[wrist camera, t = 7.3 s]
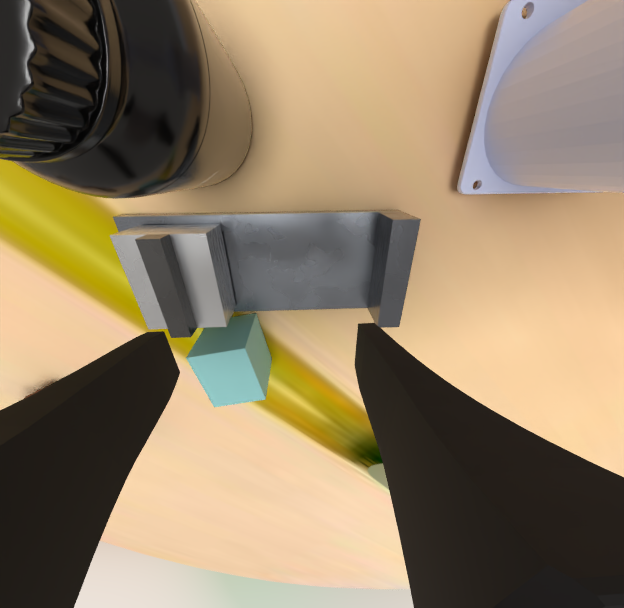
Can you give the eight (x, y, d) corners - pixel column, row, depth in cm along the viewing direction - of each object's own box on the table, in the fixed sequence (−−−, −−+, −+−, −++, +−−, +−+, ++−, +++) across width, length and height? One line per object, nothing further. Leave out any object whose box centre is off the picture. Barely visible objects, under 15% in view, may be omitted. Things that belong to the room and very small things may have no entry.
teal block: (256, 312, 20) (244, 348, 16) (271, 358, 22) (265, 399, 18) (208, 320, 20) (186, 358, 16) (229, 365, 22) (214, 407, 18)
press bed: (397, 209, 16) (420, 219, 13) (383, 302, 19) (399, 326, 16) (121, 214, 15) (77, 225, 12) (156, 308, 19) (129, 335, 16)
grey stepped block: (220, 223, 15) (198, 237, 12) (236, 307, 18) (222, 336, 15) (138, 225, 15) (95, 240, 12) (168, 308, 18) (139, 338, 15)
